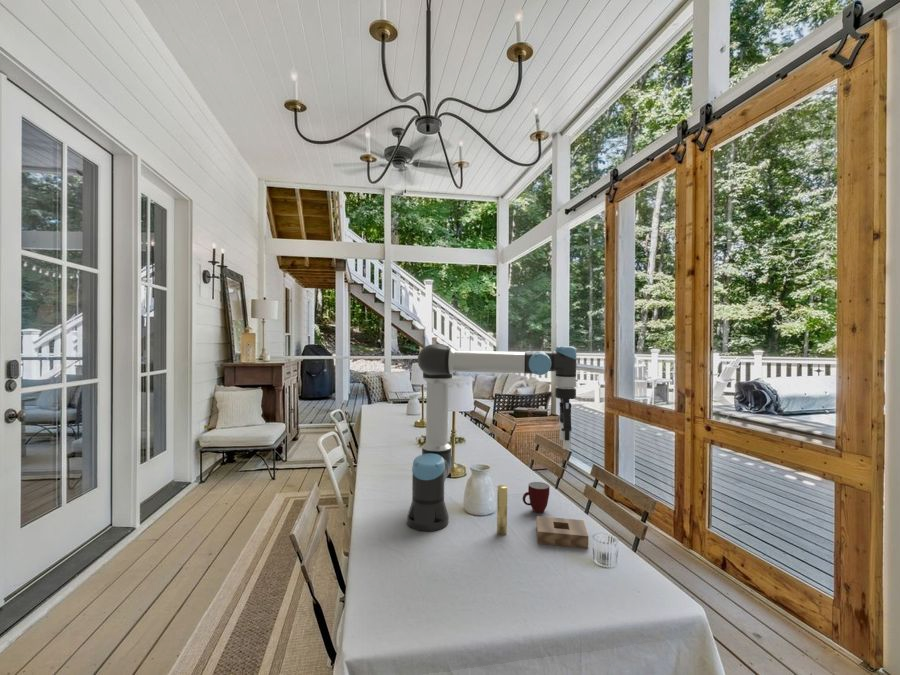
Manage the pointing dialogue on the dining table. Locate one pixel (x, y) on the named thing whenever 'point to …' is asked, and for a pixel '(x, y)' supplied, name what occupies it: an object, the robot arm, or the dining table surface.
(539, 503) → the mug
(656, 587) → the dining table surface
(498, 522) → the brass peg
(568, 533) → the socket block
